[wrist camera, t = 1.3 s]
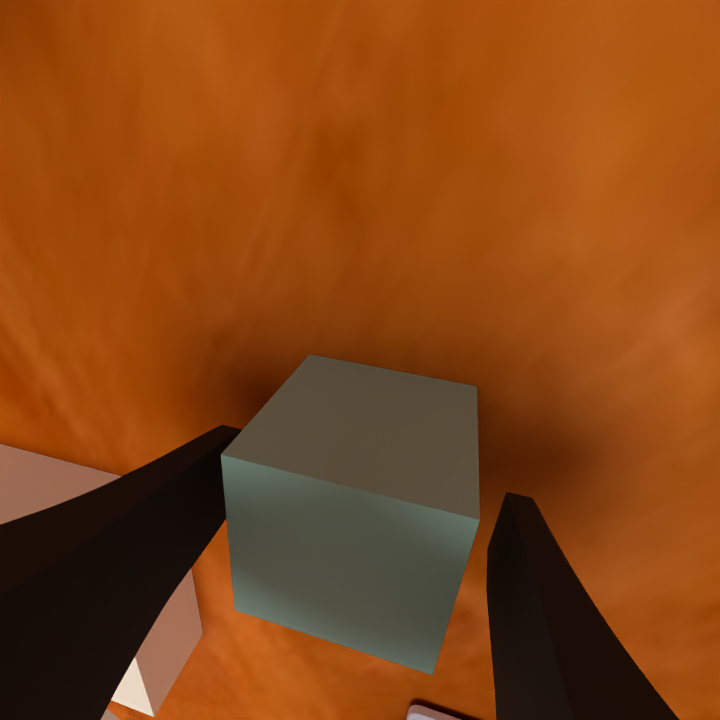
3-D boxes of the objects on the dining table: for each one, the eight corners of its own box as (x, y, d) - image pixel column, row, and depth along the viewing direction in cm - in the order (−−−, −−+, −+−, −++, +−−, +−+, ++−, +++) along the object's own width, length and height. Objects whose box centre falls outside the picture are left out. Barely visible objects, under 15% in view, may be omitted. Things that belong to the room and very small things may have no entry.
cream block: (206, 626, 21) (153, 717, 18) (52, 575, 23) (-23, 647, 20) (182, 485, 17) (106, 568, 13) (-6, 436, 19) (-116, 497, 15)
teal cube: (445, 512, 14) (432, 675, 9) (306, 477, 14) (234, 610, 10) (477, 385, 11) (480, 520, 7) (310, 352, 12) (220, 454, 8)
